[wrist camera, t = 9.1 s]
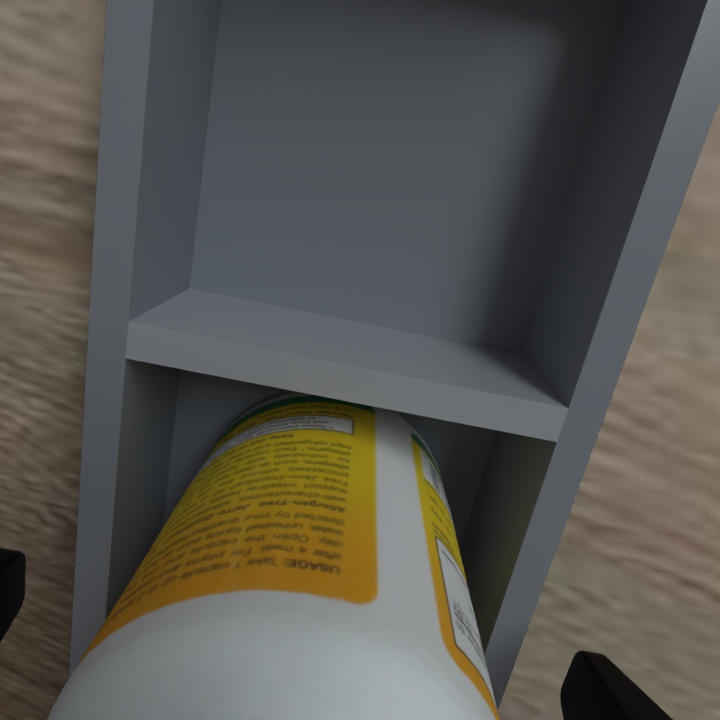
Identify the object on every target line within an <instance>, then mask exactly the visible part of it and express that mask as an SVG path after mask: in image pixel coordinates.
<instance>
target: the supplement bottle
mask: <svg viewBox="0 0 720 720" xmlns="http://www.w3.org/2000/svg"><path fill="white" fill-rule="evenodd" d="M47 720H499V716H498V712H497V707H496V703H495V698H494V694H493V690H492V686H491V681H490V677H489V673H488V669H487V665H486V661H485V657H484V653H483V648H482V644H481V640H480V635H479V631H478V627H477V622H476V618H475V614H474V610H473V606H472V602H471V598H470V594H469V590H468V586H467V581H466V576H465V572H464V567H463V563H462V560H461V556H460V551H459V547H458V543H457V540H456V534H455V529H454V525H453V520H452V516H451V512H450V508H449V505H448V501H447V498H446V494H445V491H444V487H443V483H442V479H441V475H440V472H439V469H438V466H437V463H436V461H435V459H434V457H433V455H432V453H431V451H430V449H429V447H428V446H427V444H426V443H425V441H424V440H423V438H422V437H421V436H420V434H419V433H418V432H417V431H416V430H415V429H414V428H413V427H412V426H411V425H410V424H409V423H408V422H407V421H406V420H405V419H404V418H403V417H401V416H400V415H399V414H397V413H396V412H395V411H393V410H389V409H384V408H379V407H374V406H368V405H363V404H358V403H353V402H348V401H343V400H338V399H332V398H327V397H322V396H317V395H312V394H307V393H301V392H292V393H287V394H283V395H280V396H277V397H274V398H271V399H269V400H266V401H264V402H262V403H260V404H258V405H256V406H254V407H253V408H251V409H250V410H248V411H247V412H245V413H244V414H242V415H241V416H240V417H239V418H238V419H237V420H235V421H234V422H233V423H232V424H231V425H230V426H229V427H228V428H227V430H226V431H225V432H224V433H223V435H222V436H221V437H220V439H219V440H218V441H217V443H216V444H215V446H214V447H213V449H212V450H211V452H210V453H209V455H208V456H207V458H206V460H205V461H204V463H203V465H202V466H201V468H200V470H199V471H198V473H197V474H196V475H195V477H194V479H193V480H192V482H191V483H190V485H189V486H188V488H187V490H186V491H185V493H184V495H183V497H182V498H181V500H180V501H179V503H178V504H177V506H176V507H175V509H174V511H173V512H172V514H171V516H170V517H169V519H168V521H167V522H166V524H165V525H164V527H163V529H162V530H161V532H160V533H159V535H158V537H157V538H156V540H155V542H154V543H153V545H152V547H151V549H150V550H149V552H148V553H147V555H146V556H145V558H144V560H143V561H142V563H141V565H140V566H139V567H138V569H137V571H136V572H135V574H134V576H133V577H132V579H131V581H130V582H129V584H128V586H127V587H126V589H125V591H124V592H123V594H122V595H121V597H120V598H119V600H118V601H117V603H116V604H115V606H114V608H113V609H112V611H111V613H110V614H109V616H108V617H107V619H106V621H105V622H104V624H103V625H102V627H101V628H100V630H99V632H98V633H97V635H96V636H95V638H94V639H93V641H92V643H91V644H90V646H89V647H88V649H87V650H86V652H85V654H84V655H83V657H82V658H81V660H80V661H79V663H78V665H77V666H76V668H75V669H74V671H73V673H72V674H71V676H70V678H69V679H68V681H67V682H66V684H65V686H64V687H63V689H62V691H61V693H60V694H59V696H58V698H57V700H56V702H55V703H54V705H53V707H52V709H51V711H50V713H49V715H48V718H47Z"/></svg>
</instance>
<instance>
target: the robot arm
mask: <svg viewBox="0 0 720 720" xmlns="http://www.w3.org/2000/svg"><path fill="white" fill-rule="evenodd" d="M25 569H26V560H25V555H24V554H23V553H22V552H20V551H16V550H10V549H4V548H0V642H1V640H2V639H3V637H4V635H5V634H6V632H7V630H8V629H9V627H10V625H11V624H12V622H13V620H14V619H15V617H16V615H17V614H18V612H19V610H20V608H21V606H22V603H23V600H24V596H25ZM560 698H561V707H562V712H563V717H564V720H673V719H672V718H671V717H670V716H669V715H667V714H666V713H665V712H664V711H663V710H662V709H661V708H660V707H659V706H658V705H657V704H656V703H655V702H654V701H653V700H652V699H651V698H649V697H648V696H647V695H646V694H645V693H644V692H643V691H642V690H641V689H640V688H639V687H638V686H637V685H636V684H635V683H634V682H633V681H631V680H630V679H629V678H628V677H627V676H626V675H625V674H624V673H623V672H622V671H621V670H620V669H619V668H618V667H617V666H616V665H615V664H613V663H612V662H611V661H610V660H609V659H608V658H607V657H606V656H604V655H602V654H600V653H594V652H588V651H578V652H577V653H576V654H575V655H574V657H573V660H572V662H571V665H570V667H569V670H568V672H567V675H566V677H565V680H564V682H563V685H562V688H561V696H560Z"/></svg>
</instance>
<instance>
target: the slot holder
mask: <svg viewBox="0 0 720 720" xmlns="http://www.w3.org/2000/svg"><path fill="white" fill-rule="evenodd" d="M719 100H720V0H107V6H106V24H105V42H104V60H103V78H102V95H101V113H100V131H99V149H98V167H97V185H96V202H95V220H94V238H93V256H92V274H91V292H90V310H89V327H88V345H87V363H86V381H85V399H84V417H83V434H82V452H81V470H80V488H79V506H78V524H77V541H76V559H75V577H74V595H73V613H72V631H71V649H70V666H69V678H70V676H71V674H72V673H73V671H74V669H75V668H76V666H77V665H78V663H79V661H80V660H81V658H82V657H83V655H84V654H85V652H86V650H87V649H88V647H89V646H90V644H91V643H92V641H93V639H94V638H95V636H96V635H97V633H98V632H99V630H100V628H101V627H102V625H103V624H104V622H105V621H106V619H107V617H108V616H109V614H110V613H111V611H112V609H113V608H114V606H115V604H116V603H117V601H118V600H119V598H120V597H121V595H122V594H123V592H124V591H125V589H126V587H127V586H128V584H129V582H130V581H131V579H132V577H133V576H134V574H135V572H136V571H137V569H138V567H139V566H140V565H141V563H142V561H143V560H144V558H145V556H146V555H147V553H148V552H149V550H150V549H151V547H152V545H153V543H154V542H155V540H156V538H157V537H158V535H159V533H160V532H161V530H162V529H163V527H164V525H165V524H166V522H167V521H168V519H169V517H170V516H171V514H172V512H173V511H174V509H175V507H176V506H177V504H178V503H179V501H180V500H181V498H182V497H183V495H184V493H185V491H186V490H187V488H188V486H189V485H190V483H191V482H192V480H193V479H194V477H195V475H196V474H197V473H198V471H199V470H200V468H201V466H202V465H203V463H204V461H205V460H206V458H207V456H208V455H209V453H210V452H211V450H212V449H213V447H214V446H215V444H216V443H217V441H218V440H219V439H220V437H221V436H222V435H223V433H224V432H225V431H226V430H227V428H228V427H229V426H230V425H231V424H232V423H233V422H234V421H235V420H237V419H238V418H239V417H240V416H241V415H242V414H244V413H245V412H247V411H248V410H250V409H251V408H253V407H254V406H256V405H258V404H260V403H262V402H264V401H266V400H269V399H271V398H274V397H277V396H280V395H283V394H287V393H292V392H301V393H307V394H312V395H317V396H322V397H327V398H332V399H338V400H343V401H348V402H353V403H358V404H363V405H368V406H374V407H379V408H384V409H389V410H393V411H395V412H396V413H397V414H399V415H400V416H401V417H403V418H404V419H405V420H406V421H407V422H408V423H409V424H410V425H411V426H412V427H413V428H414V429H415V430H416V431H417V432H418V433H419V434H420V436H421V437H422V438H423V440H424V441H425V443H426V444H427V446H428V447H429V449H430V451H431V453H432V455H433V457H434V459H435V461H436V463H437V466H438V469H439V472H440V475H441V479H442V483H443V487H444V491H445V494H446V498H447V501H448V505H449V508H450V512H451V516H452V520H453V525H454V529H455V534H456V540H457V543H458V547H459V551H460V556H461V560H462V563H463V567H464V572H465V576H466V581H467V586H468V590H469V594H470V598H471V602H472V606H473V610H474V614H475V618H476V622H477V627H478V631H479V635H480V640H481V644H482V648H483V653H484V657H485V661H486V665H487V669H488V673H489V677H490V681H491V686H492V690H493V694H494V698H495V703H496V707H497V711H498V708H499V705H500V703H501V700H502V697H503V694H504V692H505V689H506V686H507V683H508V681H509V678H510V675H511V672H512V670H513V667H514V664H515V661H516V659H517V656H518V653H519V650H520V648H521V645H522V642H523V639H524V636H525V634H526V631H527V628H528V625H529V623H530V620H531V617H532V614H533V612H534V609H535V606H536V603H537V601H538V598H539V595H540V592H541V590H542V587H543V584H544V581H545V579H546V576H547V573H548V570H549V568H550V565H551V562H552V559H553V557H554V554H555V551H556V548H557V546H558V543H559V540H560V537H561V535H562V532H563V529H564V526H565V524H566V521H567V518H568V515H569V513H570V510H571V507H572V504H573V502H574V499H575V496H576V493H577V491H578V488H579V485H580V482H581V480H582V477H583V474H584V471H585V469H586V466H587V463H588V460H589V458H590V455H591V452H592V449H593V447H594V444H595V441H596V438H597V436H598V433H599V430H600V427H601V425H602V422H603V419H604V416H605V414H606V411H607V408H608V405H609V403H610V400H611V397H612V394H613V392H614V389H615V386H616V383H617V381H618V378H619V375H620V372H621V370H622V367H623V364H624V361H625V359H626V356H627V353H628V350H629V348H630V345H631V342H632V339H633V337H634V334H635V331H636V328H637V326H638V323H639V320H640V317H641V315H642V312H643V309H644V306H645V304H646V301H647V298H648V295H649V293H650V290H651V287H652V284H653V282H654V279H655V276H656V273H657V271H658V268H659V265H660V262H661V260H662V257H663V254H664V251H665V249H666V246H667V243H668V240H669V238H670V235H671V232H672V229H673V227H674V224H675V221H676V218H677V215H678V213H679V210H680V207H681V204H682V202H683V199H684V196H685V193H686V191H687V188H688V185H689V182H690V180H691V177H692V174H693V171H694V169H695V166H696V163H697V160H698V158H699V155H700V152H701V149H702V147H703V144H704V141H705V138H706V136H707V133H708V130H709V127H710V125H711V122H712V119H713V116H714V114H715V111H716V108H717V105H718V103H719Z"/></svg>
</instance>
